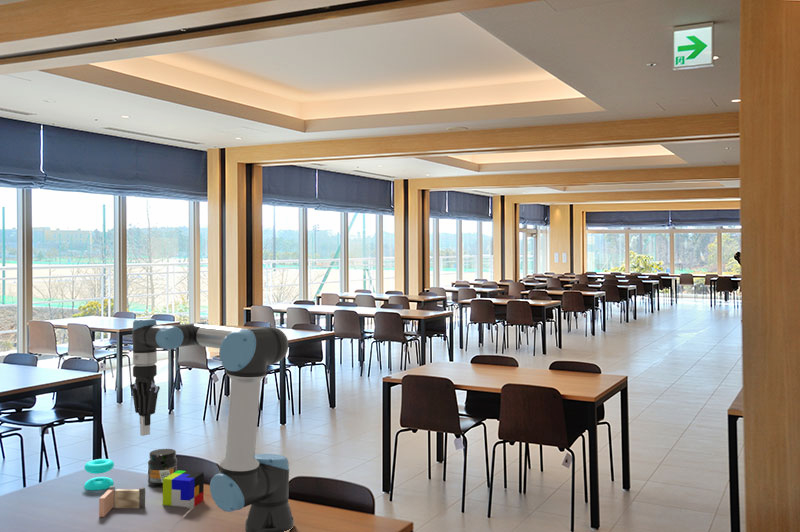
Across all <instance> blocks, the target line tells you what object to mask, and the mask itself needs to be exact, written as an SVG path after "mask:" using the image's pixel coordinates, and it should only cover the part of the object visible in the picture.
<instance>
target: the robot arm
mask: <svg viewBox="0 0 800 532" xmlns="http://www.w3.org/2000/svg"><path fill="white" fill-rule="evenodd" d="M131 332H132V364H133V366H132V377H134V378H135V381H134V383H133V384H130V385H129V386H130V389H131V392H132V399H133V405H134V413H136V414H138V416H139V425H140V427H139V428H140V429H139V430H140V431H139V433H140V434H139V435H140V436H143V437H144V436H149V435H151V415H155V413H156V410H157V409H156V407H157V401H158V395H159V392H160V389H161V388H160V386H159V385H157V384H155V383H156V381H155V377H156V376H157V375H158V373H157V367H158V366H157V365H156V364H157V362H158V360H157V359H158V358H157V357H158V356H157V352H158V351H157V349H163V350H167V351H168V350H174V349H177V348H180V347H189V346H198V347H206V348H213V349H219V360H220V362H221V365H222V367H223V368H224V369H225V370H226V375H227V376H228V377H229V378H230V380H231V381H230V394H229V406H228V407H229V408H228V421H227V435H226V449H225V450H226V451H225V457H224V458H223V459H222V460H221V461H220V462H219V473H215V475H214V476H213V477H212V478H211V479H210V482H209V491H210V496H211V499H212V500H213V502H214V503H215V505H216V506H217V507H218V508H219V509H220V510H222V511H224V512H229V513H232V512H234V511H241V510H242V509H244V508H246V507H248V506H250V507H249V511H248V514H247V519H246V520H245V524H244V525H245V528H244V530H245V532H284V531H287V530H289V529H291V528H292V527H293V525H294V524H295V522H294V521H295V520H294V516H293V515H292V514H293V513H292V510H291V507H290V504H289V491H290V490H289V487H290V485H289V483H290V481H289V480H290V468H289V466H290V463H289V459H288V458H287V457H286V456H284V455H282V454H275V453H258V454H257V453H256V447H257V432H258V421H259V419H258V418H259V406H260V392H261V391H260V390H261V380H263V379H264V378H265V377H266V376H267V370H268V369H267V368H268V367H267V366H271V365H274V364H277V363H279V362H281V361H282V360H283V359H284V358H285V357H286V355H287V353H288V350H289V340H288V337H287V335H286V334H285V333H284V331H283V330H281V329H279V328H277V327H274V326H267V327H266V326H265V327H256V328H242V327H235V326H234V327H231V326H224V325H213V324H210V323H208V322H195V323H186V324H185V323H184V324H171V325H158V324H157V319H155V318H136V319H134V320H133V321H132V331H131ZM294 526H295V525H294Z"/></svg>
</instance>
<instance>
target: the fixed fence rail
mask: <svg viewBox="0 0 800 532" xmlns="http://www.w3.org/2000/svg"><path fill="white" fill-rule="evenodd" d="M145 508H146V488H145V487H139V488H137V489H136V488H133V489H132V488H131V489H130V488H129V489H128V488H124V489H123V488H115V506H114V509H145Z"/></svg>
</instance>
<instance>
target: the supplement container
mask: <svg viewBox="0 0 800 532" xmlns="http://www.w3.org/2000/svg"><path fill="white" fill-rule="evenodd" d="M176 456H177V451H176V450H175V449H171V448H159V449H154V450H152V451H150V452H149V457H148V458H149V460H148V462H147V472H148V473H147V474H148V475H147V483H148V485H149V486H151V487H153V488H163V479H164V478H165V477H167V476H169V475H171V474H172V473H174V472H176V471H178V468H177V467H178V459H177V457H176Z"/></svg>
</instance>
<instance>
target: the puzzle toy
mask: <svg viewBox="0 0 800 532" xmlns="http://www.w3.org/2000/svg"><path fill="white" fill-rule="evenodd" d="M204 476H205V472H204V471H203V472H201V471H189V470H179V469H177V471H176V472H174V473H172V474H171V475H169V476H167V477H165V478H164V479H163V487H162V506H172V507H182V508H187V509H188V511H191V510H192V509H193V508H194V507H196V506H197V505H199V504H200V503H202V502H203V501H204V494H205V493H204V490H205V489H204V485H205V483H204V481H205V477H204Z"/></svg>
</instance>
